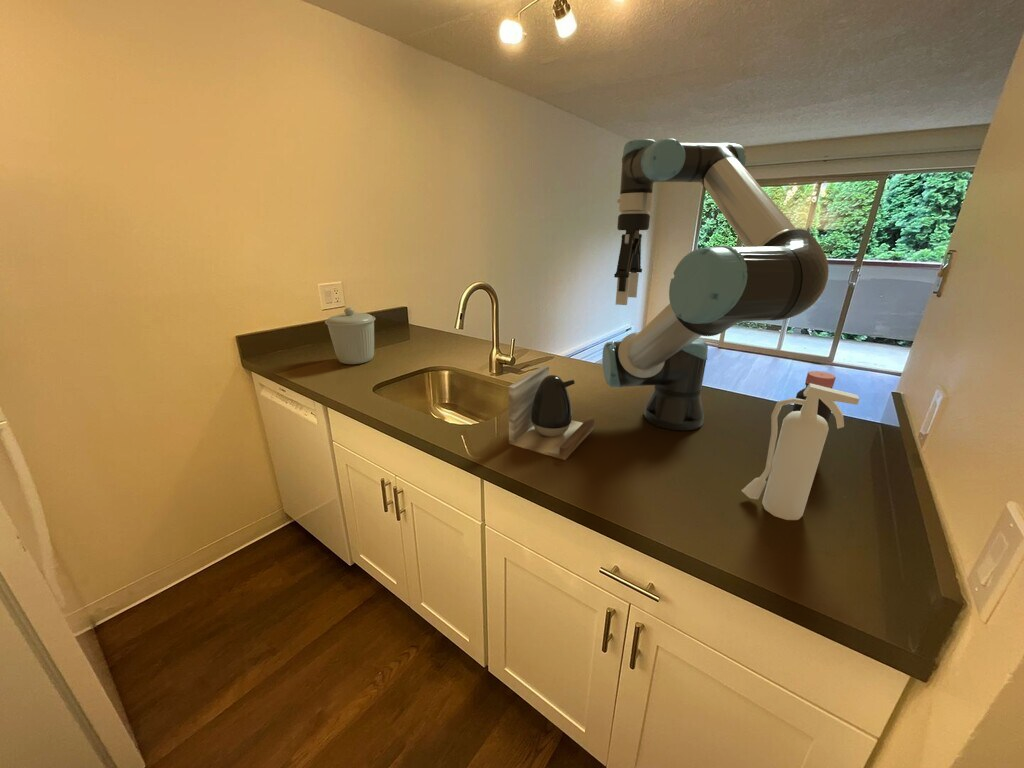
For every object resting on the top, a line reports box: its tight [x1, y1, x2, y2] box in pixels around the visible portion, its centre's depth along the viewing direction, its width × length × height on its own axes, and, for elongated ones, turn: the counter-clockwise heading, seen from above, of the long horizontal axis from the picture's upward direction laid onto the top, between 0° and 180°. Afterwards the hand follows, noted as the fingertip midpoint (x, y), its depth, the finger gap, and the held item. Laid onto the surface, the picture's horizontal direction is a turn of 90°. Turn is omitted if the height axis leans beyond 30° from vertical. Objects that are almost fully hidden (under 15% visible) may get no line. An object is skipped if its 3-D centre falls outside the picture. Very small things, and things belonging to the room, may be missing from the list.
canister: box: [324, 306, 376, 365], centre depth 161 cm, size 18×18×21 cm
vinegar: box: [791, 370, 836, 425], centre depth 92 cm, size 7×7×20 cm
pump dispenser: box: [531, 374, 576, 437], centre depth 103 cm, size 10×10×15 cm
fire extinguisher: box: [741, 383, 860, 521], centre depth 74 cm, size 7×12×25 cm, turn 57°
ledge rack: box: [507, 365, 595, 461], centre depth 103 cm, size 15×18×15 cm
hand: (626, 300), depth 109 cm, fingers open, 13 cm apart
